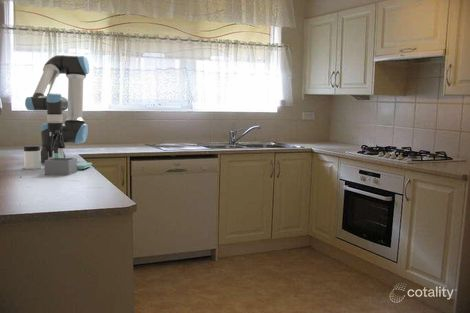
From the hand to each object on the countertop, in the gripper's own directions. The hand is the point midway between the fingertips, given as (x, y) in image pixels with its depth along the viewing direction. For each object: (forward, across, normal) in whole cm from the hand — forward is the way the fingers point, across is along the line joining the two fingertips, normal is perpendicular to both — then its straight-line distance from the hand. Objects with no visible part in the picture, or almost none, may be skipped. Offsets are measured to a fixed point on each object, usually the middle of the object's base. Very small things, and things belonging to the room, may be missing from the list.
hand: (56, 161), depth 269 cm
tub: (+3, +17, +9) cm, 20 cm away
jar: (+4, 0, -13) cm, 14 cm away
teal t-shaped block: (+4, 0, +7) cm, 8 cm away
